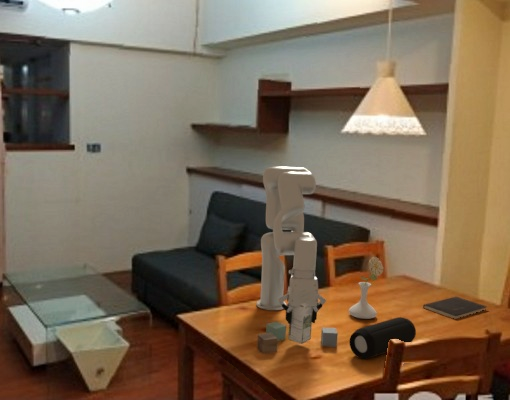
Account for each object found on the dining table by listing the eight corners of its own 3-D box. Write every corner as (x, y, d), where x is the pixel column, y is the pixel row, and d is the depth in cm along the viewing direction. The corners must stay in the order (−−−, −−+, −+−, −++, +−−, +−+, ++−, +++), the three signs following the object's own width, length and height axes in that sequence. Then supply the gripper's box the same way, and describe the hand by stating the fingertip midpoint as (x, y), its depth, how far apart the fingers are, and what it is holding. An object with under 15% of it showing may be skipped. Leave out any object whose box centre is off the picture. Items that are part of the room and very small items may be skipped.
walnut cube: (257, 348, 181) (257, 334, 181) (270, 346, 183) (271, 332, 183) (263, 354, 177) (264, 340, 176) (276, 352, 179) (277, 338, 178)
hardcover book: (486, 311, 231) (487, 306, 231) (455, 320, 218) (455, 315, 218) (454, 300, 244) (454, 296, 244) (422, 309, 231) (423, 303, 230)
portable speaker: (368, 365, 172) (371, 335, 171) (346, 354, 180) (348, 325, 179) (416, 347, 188) (419, 320, 186) (394, 338, 195) (396, 312, 194)
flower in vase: (356, 322, 210) (360, 260, 206) (343, 312, 221) (347, 253, 217) (385, 320, 213) (390, 259, 210) (371, 310, 224) (376, 252, 221)
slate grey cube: (320, 340, 190) (321, 327, 190) (334, 341, 190) (335, 328, 190) (322, 346, 185) (323, 332, 185) (336, 347, 185) (337, 333, 185)
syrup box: (297, 334, 189) (299, 295, 186) (311, 339, 185) (313, 299, 183) (287, 339, 184) (290, 299, 182) (301, 344, 180) (304, 304, 178)
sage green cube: (265, 337, 191) (266, 324, 190) (276, 334, 194) (276, 321, 194) (275, 342, 187) (275, 328, 187) (285, 339, 190) (286, 325, 190)
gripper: (281, 276, 176) (278, 326, 178) (331, 276, 178) (328, 325, 181) (276, 270, 183) (274, 318, 186) (325, 270, 186) (322, 317, 189)
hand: (300, 321), depth 183 cm, fingers closed on syrup box, 8 cm apart
